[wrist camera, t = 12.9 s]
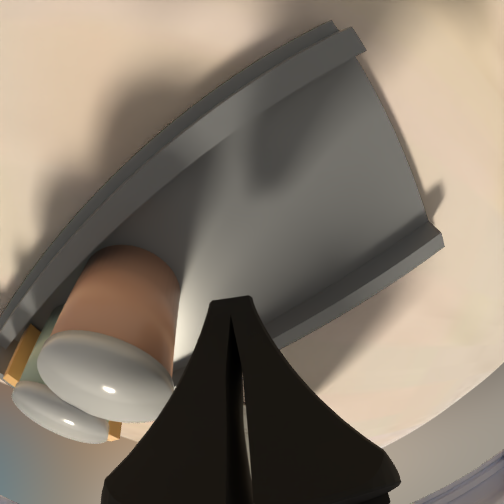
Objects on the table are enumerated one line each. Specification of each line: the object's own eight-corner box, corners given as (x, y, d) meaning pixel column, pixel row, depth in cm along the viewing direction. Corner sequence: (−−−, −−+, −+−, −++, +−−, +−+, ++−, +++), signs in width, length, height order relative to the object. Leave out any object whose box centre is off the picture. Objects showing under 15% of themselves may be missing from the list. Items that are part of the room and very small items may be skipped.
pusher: (24, 330, 14) (-2, 389, 10) (30, 323, 14) (2, 384, 10) (117, 394, 19) (108, 451, 14) (126, 390, 18) (118, 449, 14)
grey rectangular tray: (-4, 323, 15) (-23, 359, 12) (326, 22, 9) (367, 5, 6) (116, 406, 21) (110, 443, 18) (428, 235, 15) (465, 273, 12)
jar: (63, 258, 12) (12, 350, 7) (158, 229, 12) (127, 334, 7) (111, 332, 15) (89, 423, 10) (197, 316, 15) (195, 418, 10)
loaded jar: (49, 344, 15) (21, 418, 11) (47, 289, 13) (1, 376, 8) (121, 371, 17) (105, 450, 12) (133, 323, 15) (110, 421, 10)
